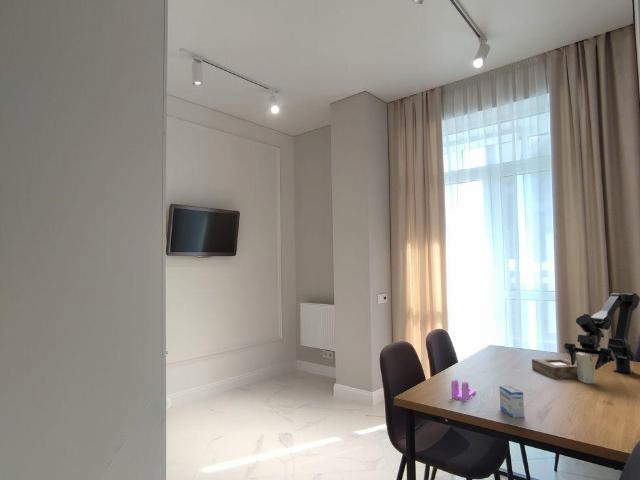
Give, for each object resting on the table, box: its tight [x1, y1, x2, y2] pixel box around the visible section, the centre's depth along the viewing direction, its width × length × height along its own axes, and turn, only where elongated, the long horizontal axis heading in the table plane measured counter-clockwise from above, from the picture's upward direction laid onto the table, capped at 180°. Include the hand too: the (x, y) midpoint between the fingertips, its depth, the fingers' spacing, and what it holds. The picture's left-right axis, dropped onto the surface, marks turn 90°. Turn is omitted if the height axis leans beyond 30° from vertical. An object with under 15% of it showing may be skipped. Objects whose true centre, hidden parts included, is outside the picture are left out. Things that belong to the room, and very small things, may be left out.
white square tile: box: [550, 362, 567, 365], centre depth 179 cm, size 8×8×1 cm
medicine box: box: [498, 385, 525, 419], centre depth 133 cm, size 8×4×9 cm, turn 5°
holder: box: [531, 357, 578, 380], centre depth 179 cm, size 16×16×5 cm
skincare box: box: [575, 352, 596, 384], centre depth 166 cm, size 6×4×12 cm
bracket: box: [450, 379, 477, 402], centre depth 152 cm, size 13×6×7 cm, turn 137°
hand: (583, 367), depth 165 cm, fingers open, 9 cm apart
